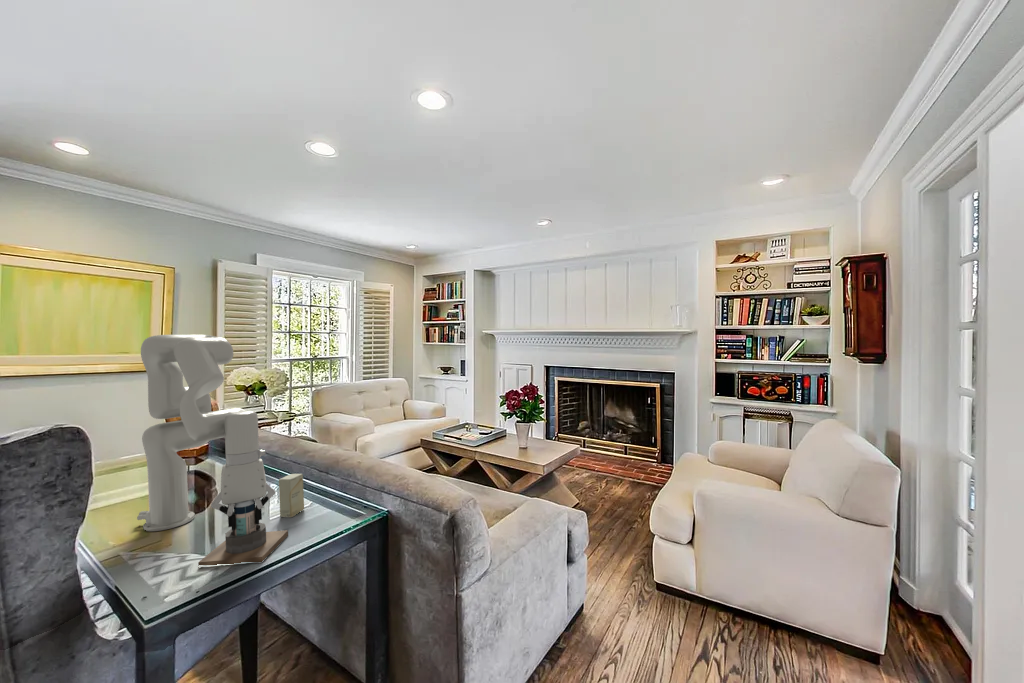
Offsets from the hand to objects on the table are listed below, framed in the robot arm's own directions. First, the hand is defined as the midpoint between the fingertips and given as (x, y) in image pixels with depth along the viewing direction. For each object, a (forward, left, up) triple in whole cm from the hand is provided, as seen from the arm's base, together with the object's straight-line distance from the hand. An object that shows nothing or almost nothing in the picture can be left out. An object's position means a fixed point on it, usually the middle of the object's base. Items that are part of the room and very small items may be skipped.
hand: (245, 525), depth 112 cm
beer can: (0, 0, -5) cm, 5 cm away
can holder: (0, 0, -7) cm, 7 cm away
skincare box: (+2, +24, -7) cm, 25 cm away
